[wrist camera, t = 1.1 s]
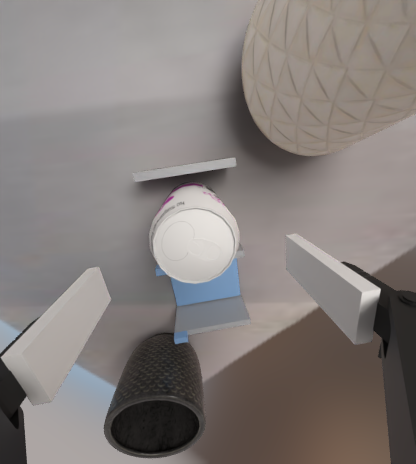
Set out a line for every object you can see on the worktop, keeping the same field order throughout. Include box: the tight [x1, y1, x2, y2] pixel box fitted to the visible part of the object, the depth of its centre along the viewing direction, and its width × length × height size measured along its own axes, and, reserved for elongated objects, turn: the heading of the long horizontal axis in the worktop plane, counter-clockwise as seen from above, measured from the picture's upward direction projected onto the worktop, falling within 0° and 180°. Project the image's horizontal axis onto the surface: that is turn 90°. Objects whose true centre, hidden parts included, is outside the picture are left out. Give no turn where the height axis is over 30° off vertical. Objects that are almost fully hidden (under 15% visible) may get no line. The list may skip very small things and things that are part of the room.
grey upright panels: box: [132, 157, 251, 344], centre depth 29 cm, size 25×12×7 cm, turn 8°
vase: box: [242, 0, 416, 156], centre depth 16 cm, size 17×17×23 cm
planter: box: [104, 333, 206, 458], centre depth 34 cm, size 14×14×13 cm
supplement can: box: [149, 182, 240, 284], centre depth 24 cm, size 8×8×15 cm
